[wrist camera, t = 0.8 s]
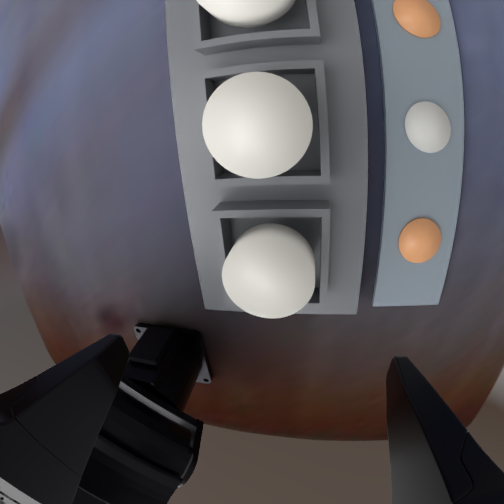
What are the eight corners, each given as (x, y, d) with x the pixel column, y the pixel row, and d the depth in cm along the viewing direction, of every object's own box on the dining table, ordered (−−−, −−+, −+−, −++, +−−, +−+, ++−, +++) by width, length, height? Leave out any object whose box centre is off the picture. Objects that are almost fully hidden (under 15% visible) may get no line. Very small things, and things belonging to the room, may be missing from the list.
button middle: (314, 169, 13) (315, 177, 11) (220, 172, 14) (208, 181, 12) (308, 74, 11) (308, 68, 9) (211, 83, 12) (197, 79, 10)
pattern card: (436, 300, 18) (438, 306, 18) (371, 302, 19) (373, 308, 19) (434, -35, 8) (438, -38, 7) (358, -49, 9) (360, -54, 8)
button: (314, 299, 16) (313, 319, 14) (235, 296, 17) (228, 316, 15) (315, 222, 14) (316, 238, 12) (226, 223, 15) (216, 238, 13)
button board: (353, 296, 19) (358, 330, 16) (213, 293, 21) (197, 323, 18) (337, -46, 9) (341, -74, 6) (177, -26, 11) (152, -46, 8)
